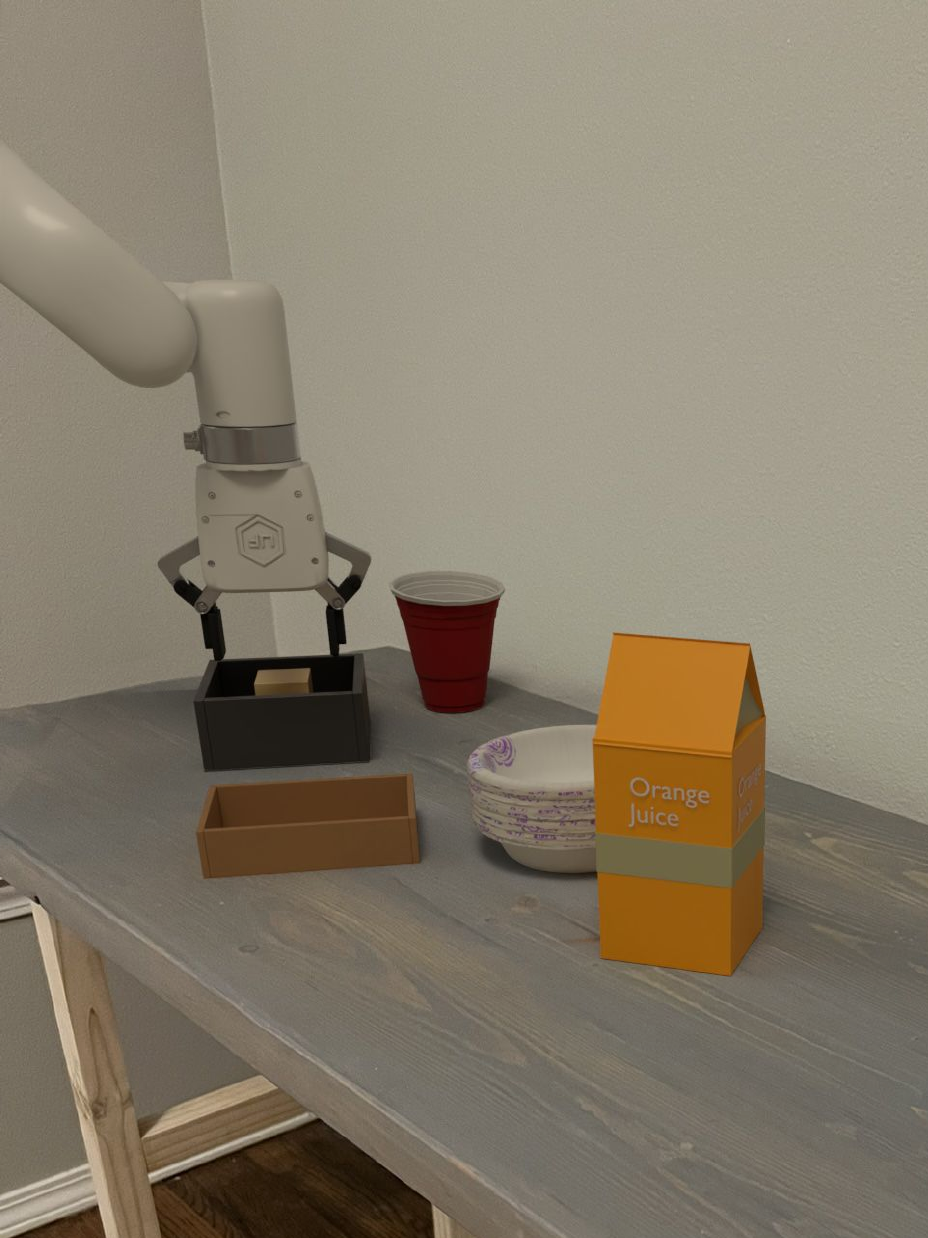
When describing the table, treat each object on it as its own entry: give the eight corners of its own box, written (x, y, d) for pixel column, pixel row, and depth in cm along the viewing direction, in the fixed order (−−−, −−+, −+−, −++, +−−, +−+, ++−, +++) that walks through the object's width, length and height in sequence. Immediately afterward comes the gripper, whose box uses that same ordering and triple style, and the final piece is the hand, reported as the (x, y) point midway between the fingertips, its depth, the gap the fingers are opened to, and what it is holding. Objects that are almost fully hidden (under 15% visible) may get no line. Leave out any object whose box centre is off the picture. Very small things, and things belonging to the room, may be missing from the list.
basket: (205, 777, 125) (192, 700, 122) (220, 730, 137) (209, 659, 134) (370, 767, 128) (361, 692, 125) (370, 722, 140) (363, 652, 137)
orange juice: (730, 977, 92) (733, 659, 83) (598, 958, 94) (586, 647, 85) (764, 927, 99) (769, 628, 90) (639, 911, 101) (632, 617, 92)
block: (263, 750, 130) (253, 683, 127) (267, 735, 134) (257, 670, 131) (316, 748, 131) (307, 681, 128) (318, 733, 134) (310, 667, 132)
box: (204, 884, 105) (195, 831, 103) (217, 834, 113) (209, 785, 111) (420, 869, 107) (415, 817, 106) (417, 821, 116) (412, 773, 114)
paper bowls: (460, 828, 115) (452, 729, 111) (649, 809, 119) (647, 713, 115) (491, 903, 102) (483, 794, 98) (703, 879, 106) (702, 774, 103)
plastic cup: (451, 728, 138) (440, 598, 133) (377, 707, 144) (364, 582, 139) (535, 703, 146) (528, 580, 140) (461, 684, 152) (452, 565, 146)
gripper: (133, 453, 116) (168, 670, 123) (360, 451, 119) (380, 662, 127) (146, 442, 122) (178, 648, 130) (361, 440, 126) (380, 641, 133)
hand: (278, 654), depth 128 cm, fingers open, 9 cm apart
